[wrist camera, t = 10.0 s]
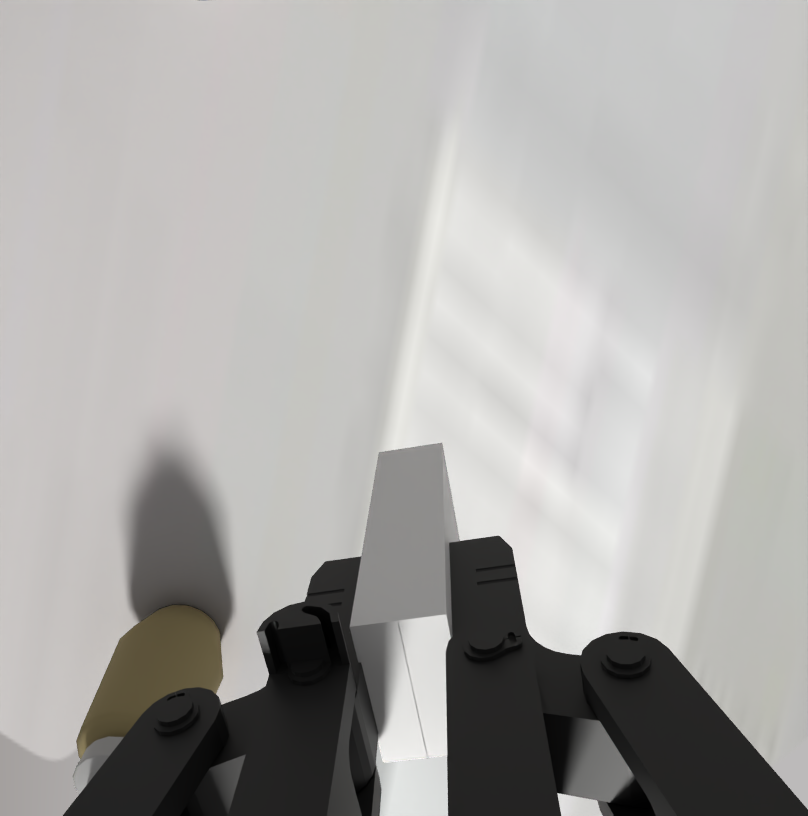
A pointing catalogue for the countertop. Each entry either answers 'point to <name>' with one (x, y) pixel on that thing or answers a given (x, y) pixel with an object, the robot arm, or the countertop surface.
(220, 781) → the robot arm
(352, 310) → the countertop surface
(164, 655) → the squeeze bottle
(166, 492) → the countertop surface
